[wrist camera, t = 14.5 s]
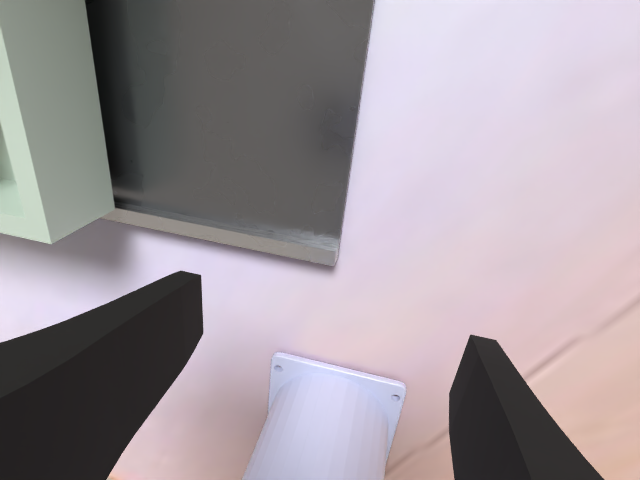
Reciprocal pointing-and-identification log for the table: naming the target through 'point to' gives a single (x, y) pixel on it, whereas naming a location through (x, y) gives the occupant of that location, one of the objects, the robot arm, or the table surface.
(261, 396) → the table surface
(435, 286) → the table surface
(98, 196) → the pale green square tray
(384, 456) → the robot arm
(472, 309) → the table surface
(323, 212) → the track plate
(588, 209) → the table surface
